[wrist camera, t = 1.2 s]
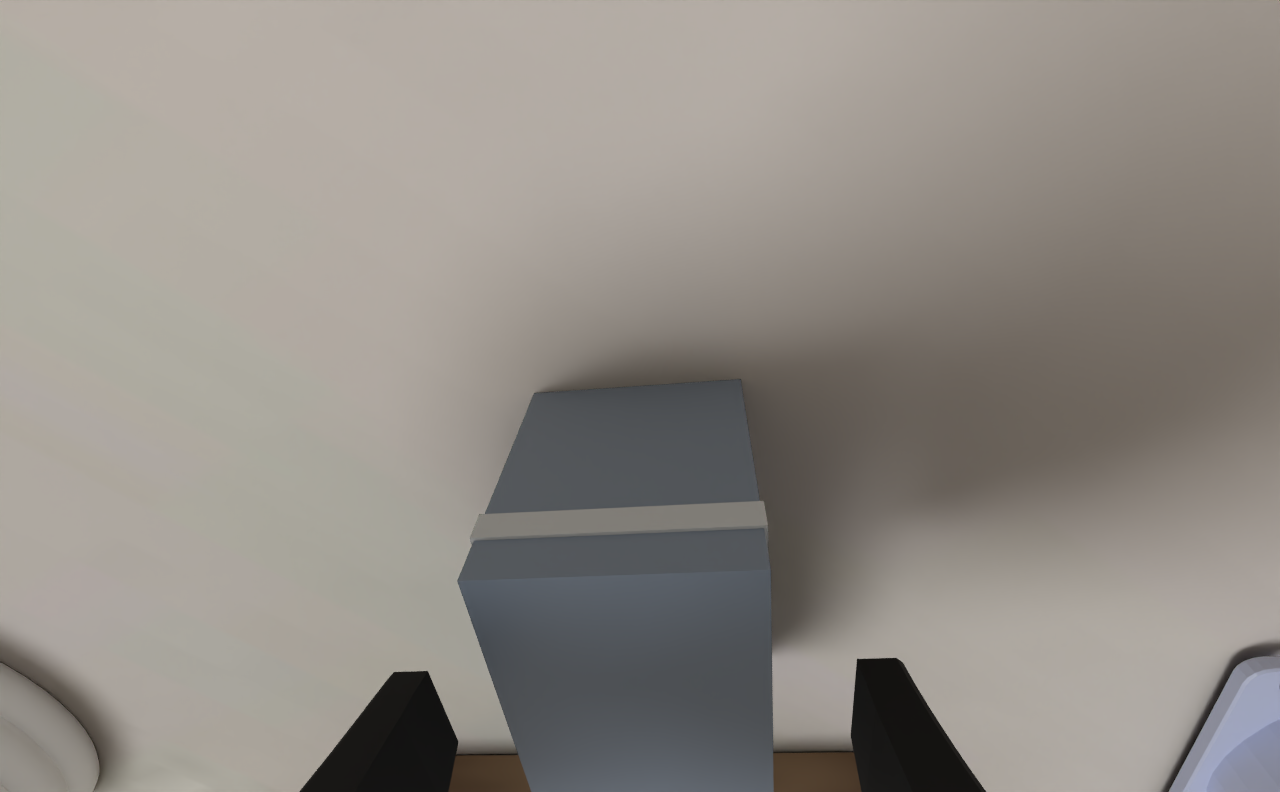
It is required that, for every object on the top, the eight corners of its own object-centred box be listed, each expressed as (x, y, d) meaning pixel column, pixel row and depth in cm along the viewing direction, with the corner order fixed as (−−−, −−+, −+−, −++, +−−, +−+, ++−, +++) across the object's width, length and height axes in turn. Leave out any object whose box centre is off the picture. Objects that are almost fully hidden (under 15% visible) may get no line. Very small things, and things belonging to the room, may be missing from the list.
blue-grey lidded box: (742, 373, 12) (775, 567, 8) (752, 655, 16) (777, 886, 12) (532, 388, 13) (452, 577, 8) (592, 659, 17) (560, 882, 12)
